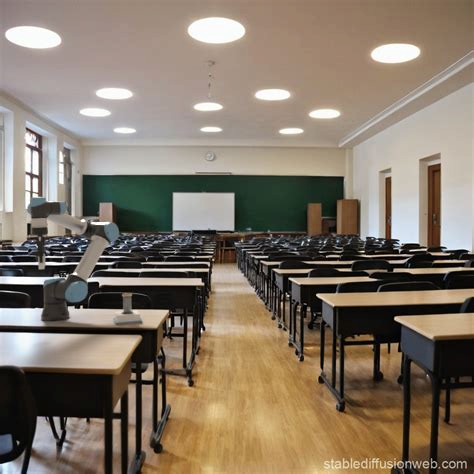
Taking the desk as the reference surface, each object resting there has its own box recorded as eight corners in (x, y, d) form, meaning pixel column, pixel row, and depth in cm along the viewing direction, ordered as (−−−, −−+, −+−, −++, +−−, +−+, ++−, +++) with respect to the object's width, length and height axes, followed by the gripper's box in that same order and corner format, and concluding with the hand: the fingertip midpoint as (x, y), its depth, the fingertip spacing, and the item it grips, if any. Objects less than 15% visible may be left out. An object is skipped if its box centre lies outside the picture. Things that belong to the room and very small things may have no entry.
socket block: (113, 319, 246) (113, 311, 246) (138, 317, 251) (138, 309, 251) (115, 324, 233) (115, 316, 233) (142, 322, 238) (142, 314, 238)
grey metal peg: (122, 318, 244) (121, 293, 243) (131, 317, 245) (131, 293, 245) (123, 320, 239) (122, 295, 238) (133, 319, 240) (132, 294, 240)
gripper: (33, 226, 238) (35, 265, 239) (30, 227, 215) (32, 271, 216) (48, 226, 241) (50, 264, 242) (46, 227, 217) (49, 269, 219)
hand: (42, 267), depth 229 cm, fingers open, 13 cm apart
